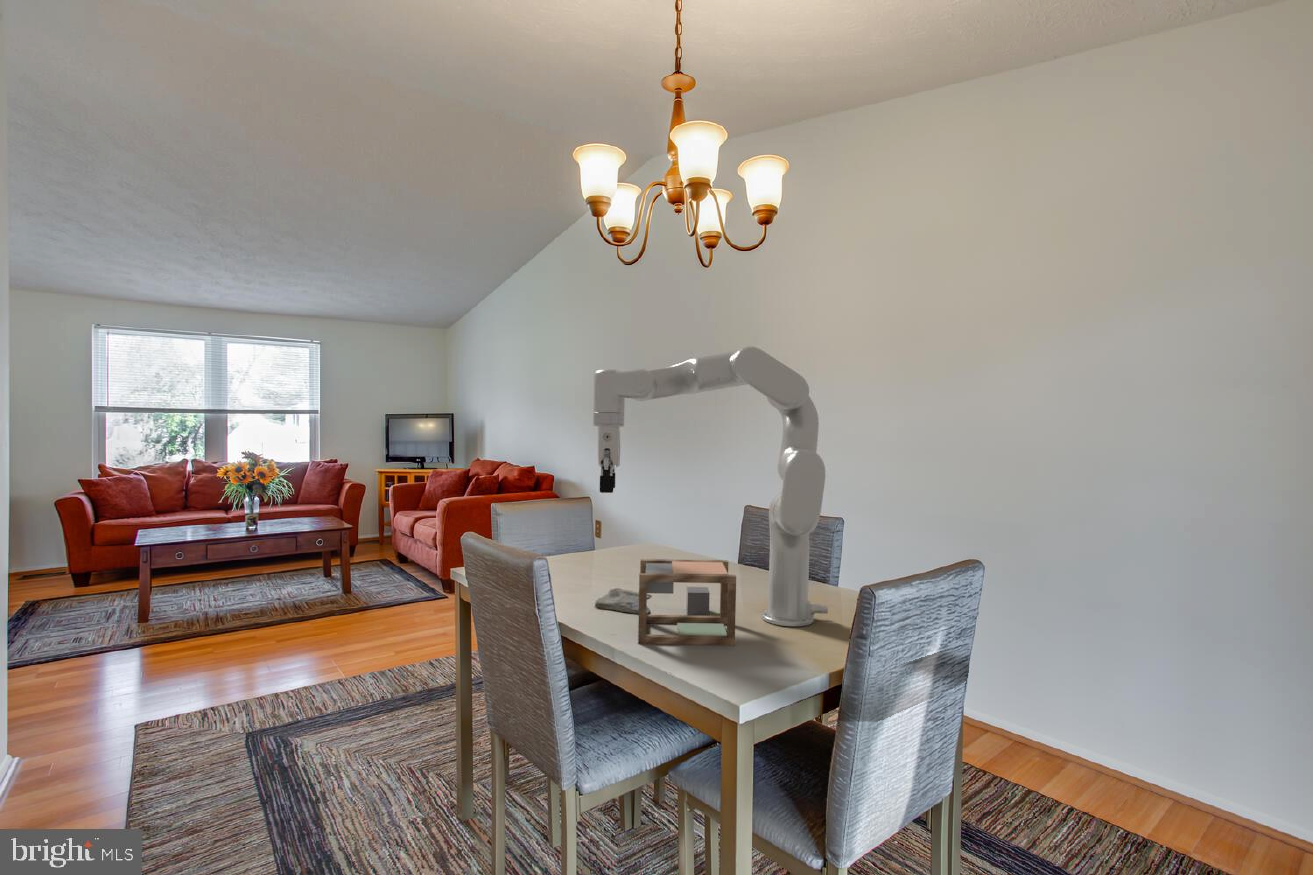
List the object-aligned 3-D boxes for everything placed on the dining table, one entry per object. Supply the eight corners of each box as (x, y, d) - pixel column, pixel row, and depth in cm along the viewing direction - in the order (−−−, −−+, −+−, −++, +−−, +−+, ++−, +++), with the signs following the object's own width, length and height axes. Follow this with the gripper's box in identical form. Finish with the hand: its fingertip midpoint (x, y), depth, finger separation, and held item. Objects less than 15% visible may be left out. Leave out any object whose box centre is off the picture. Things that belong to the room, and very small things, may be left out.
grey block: (707, 610, 166) (707, 587, 166) (709, 616, 161) (709, 592, 161) (686, 610, 166) (686, 586, 166) (687, 616, 161) (687, 592, 161)
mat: (723, 625, 154) (723, 623, 154) (728, 641, 143) (728, 639, 143) (677, 624, 154) (677, 622, 154) (679, 640, 143) (679, 638, 143)
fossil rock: (610, 594, 182) (610, 586, 182) (662, 599, 178) (662, 590, 178) (590, 611, 164) (590, 602, 164) (647, 617, 161) (647, 607, 161)
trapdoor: (645, 593, 142) (645, 572, 142) (645, 579, 154) (645, 560, 154) (727, 594, 142) (728, 574, 142) (721, 580, 154) (722, 562, 154)
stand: (638, 643, 140) (639, 574, 140) (639, 620, 156) (640, 558, 156) (734, 645, 141) (736, 576, 140) (726, 622, 157) (727, 560, 156)
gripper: (622, 420, 149) (621, 494, 150) (625, 420, 167) (624, 486, 167) (590, 420, 149) (589, 494, 150) (596, 420, 167) (595, 486, 167)
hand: (607, 490), depth 159 cm, fingers open, 9 cm apart
